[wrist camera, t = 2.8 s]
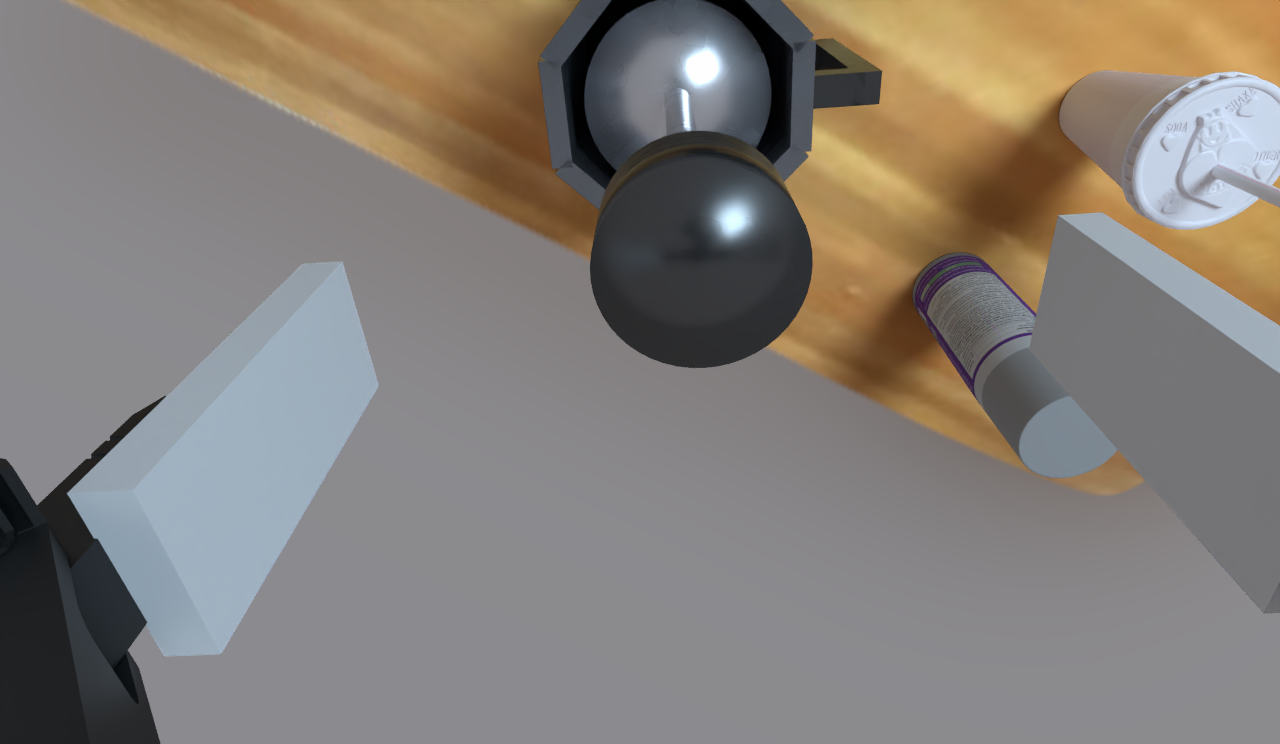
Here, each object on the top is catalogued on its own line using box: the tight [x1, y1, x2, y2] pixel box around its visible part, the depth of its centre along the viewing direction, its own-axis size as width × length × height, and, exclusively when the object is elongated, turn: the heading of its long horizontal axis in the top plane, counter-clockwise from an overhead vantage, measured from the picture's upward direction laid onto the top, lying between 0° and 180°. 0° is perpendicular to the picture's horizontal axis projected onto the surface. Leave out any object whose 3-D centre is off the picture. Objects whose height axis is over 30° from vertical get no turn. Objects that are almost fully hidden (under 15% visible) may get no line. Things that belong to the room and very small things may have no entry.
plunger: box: [584, 0, 812, 368], centre depth 22 cm, size 7×7×17 cm
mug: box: [538, 0, 882, 210], centre depth 33 cm, size 10×13×12 cm
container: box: [912, 253, 1118, 478], centre depth 38 cm, size 5×5×15 cm
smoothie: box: [1059, 70, 1280, 230], centre depth 33 cm, size 6×6×14 cm
